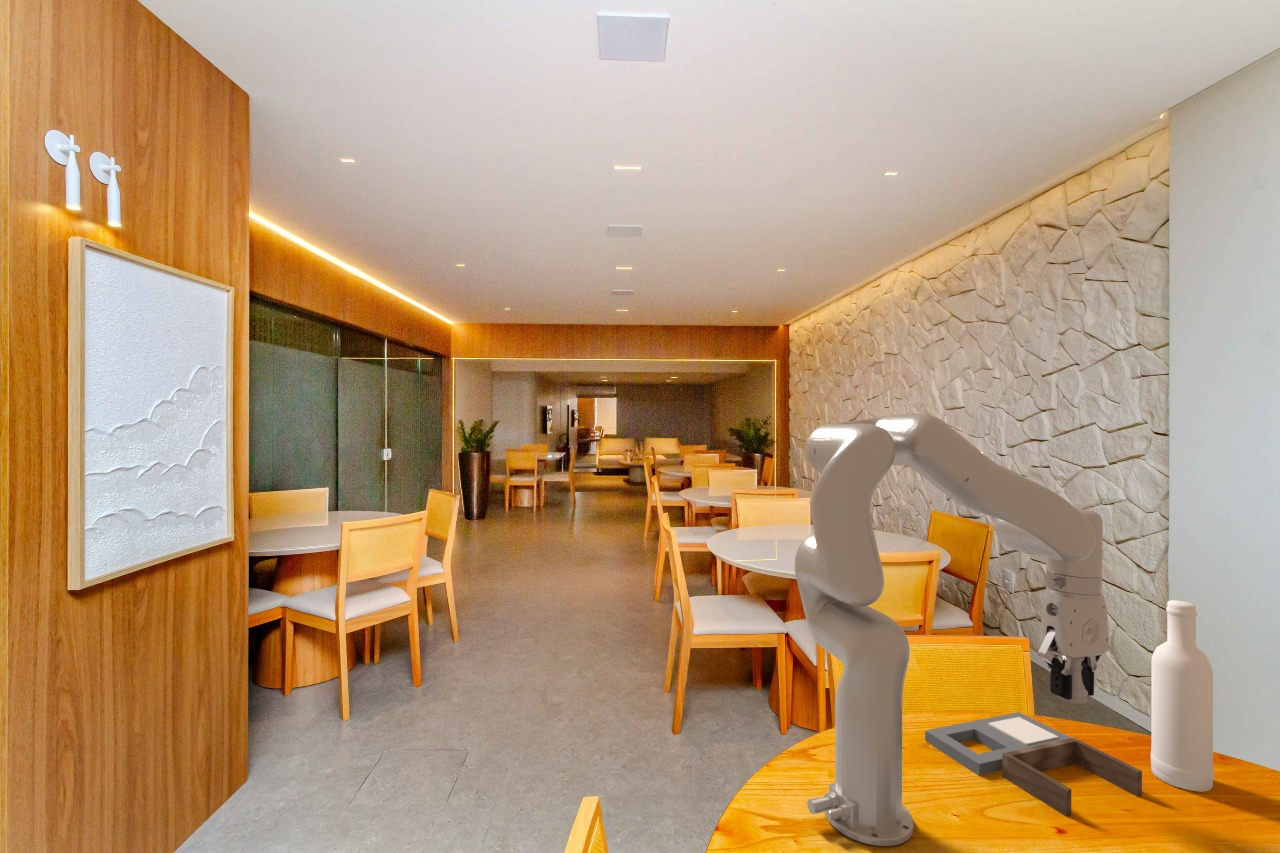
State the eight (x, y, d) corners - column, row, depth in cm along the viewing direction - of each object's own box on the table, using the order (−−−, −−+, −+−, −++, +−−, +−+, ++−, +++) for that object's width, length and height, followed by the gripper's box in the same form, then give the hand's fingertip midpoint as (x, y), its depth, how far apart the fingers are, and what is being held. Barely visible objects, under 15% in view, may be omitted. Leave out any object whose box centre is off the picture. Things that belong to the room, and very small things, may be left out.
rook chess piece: (1094, 706, 96) (1095, 656, 96) (1063, 703, 97) (1064, 654, 97) (1080, 694, 101) (1080, 647, 101) (1050, 691, 101) (1051, 644, 102)
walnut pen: (1066, 816, 91) (1066, 790, 91) (1002, 776, 102) (1002, 753, 102) (1141, 795, 97) (1142, 770, 97) (1073, 759, 107) (1073, 737, 107)
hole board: (979, 775, 102) (979, 762, 102) (925, 740, 113) (925, 728, 113) (1079, 752, 110) (1079, 739, 110) (1018, 721, 121) (1019, 710, 121)
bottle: (1204, 774, 103) (1204, 600, 103) (1221, 798, 96) (1221, 612, 96) (1144, 761, 107) (1145, 594, 107) (1157, 784, 100) (1157, 605, 100)
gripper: (1059, 593, 93) (1057, 711, 93) (1132, 586, 98) (1131, 697, 98) (1014, 581, 100) (1013, 690, 100) (1086, 575, 105) (1084, 679, 105)
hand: (1072, 693), depth 99 cm, fingers closed on rook chess piece, 4 cm apart
